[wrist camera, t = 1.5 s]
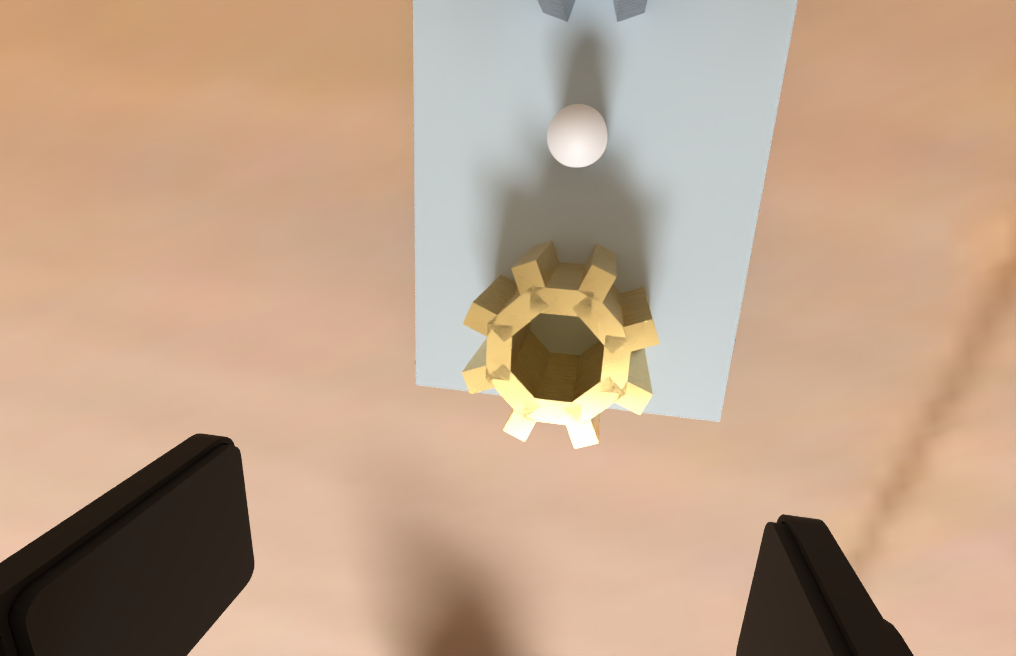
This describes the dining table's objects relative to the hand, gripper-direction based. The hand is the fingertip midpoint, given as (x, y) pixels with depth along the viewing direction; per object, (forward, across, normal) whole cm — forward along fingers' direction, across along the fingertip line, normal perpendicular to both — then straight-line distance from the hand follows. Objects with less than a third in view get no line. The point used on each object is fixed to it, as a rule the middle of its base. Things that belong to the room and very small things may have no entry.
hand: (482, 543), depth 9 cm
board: (+17, -1, -9) cm, 19 cm away
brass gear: (+15, 0, 0) cm, 15 cm away
